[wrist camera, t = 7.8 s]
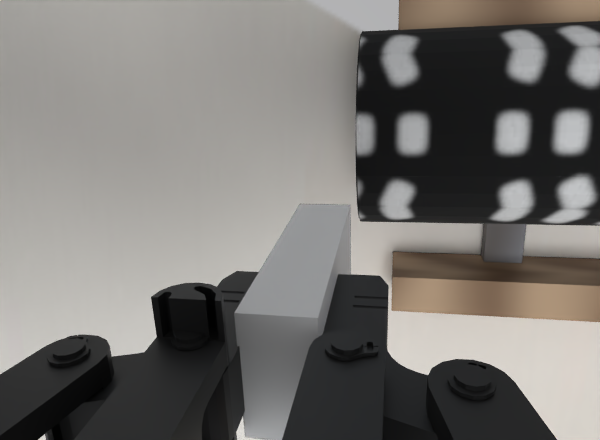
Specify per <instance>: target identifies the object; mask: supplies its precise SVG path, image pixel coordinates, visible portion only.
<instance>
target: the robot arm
mask: <svg viewBox="0 0 600 440" xmlns="http://www.w3.org/2000/svg"><path fill="white" fill-rule="evenodd" d="M151 300H152V307H153V313H154V320H155V327H156V334H157V338H156V339H155V340H154V341H153V343H152V344H151V345H150V346H149V348H148V349H147V350H146V351H145V352H144V353H139V354H130V355H122V356H114V357H112V356H111V351H110V346H109V344H108V342H107V340H105V339H103V338H101V337H99V336H93V335H78V336H77V335H74V336H69V337H67V338H65V339H61V340H58V341H56V342H54V343H52V344H49V345H47V346H45V347H43V348H42V349H40V350H39V351H37V352H35V353H34V354H32V355H31V356H29V357H28V358H26V359H24V360H23V361H21V362H20V363H18V364H16V365H15V366H13V367H12V368H10V369H8V370H7V371H5V372H4V373H2V374H0V440H38V439H39V438H40V437H41V436H43V435H44V434H45V436H46V440H237V436H236V431H237V429H238V426H239V424H240V421H241V419H242V416H243V419H244V430H245V437H247V438H257V439H267V440H557V439H556V438H555V436H554V435H553V434H552V432H551V431H550V430H549V428H548V427H547V425H546V424H545V423H544V421H543V420H542V419H541V417H540V416H539V415H538V413H537V412H536V411H535V409H534V408H533V406H532V405H531V404H530V402H529V401H528V400H527V398H526V397H525V396H524V394H523V393H522V391H521V390H520V389H519V387H518V386H517V385H516V383H515V382H514V381H513V380H512V379H511V378H510V377H509V376H508V375H507V374H506V373H505V372H503V371H501V370H499V369H498V368H496V367H494V366H492V365H490V364H486V363H483V362H479V361H475V360H463V359H455V360H450V361H445V362H442V363H440V364H438V365H437V366H435V367H433V368H432V369H431V371H430V373H429V375H425V374H421V373H418V372H415V371H412V370H410V369H407V368H405V367H404V366H402V365H400V364H398V363H397V362H396V361H395V360H394V359H393V358H392V357H391V356H390V354H389V353H388V351H387V330H388V285H387V284H386V282H385V281H384V280H383V279H382V278H381V277H380V276H372V275H351V217H350V205H336V204H300V205H299V206H298V208H297V210H296V211H295V213H294V215H293V216H292V218H291V220H290V221H289V223H288V225H287V226H286V228H285V230H284V231H283V233H282V235H281V236H280V238H279V240H278V241H277V243H276V244H275V246H274V248H273V249H272V251H271V253H270V254H269V256H268V258H267V259H266V261H265V263H264V264H263V266H262V268H261V269H260V271H259V272H244V271H236V272H235V273H233V274H231V275H230V276H228V277H226V278H225V279H223V280H222V281H221V282H220V284H219V285H218V286H217V287H215V286H213V285H211V284H204V283H184V284H180V285H175V286H171V287H168V288H166V289H163V290H161V291H159V292H158V293H156V294H155V295H153V296H152V297H151Z"/></svg>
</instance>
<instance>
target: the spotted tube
mask: <svg viewBox="0 0 600 440" xmlns="http://www.w3.org/2000/svg"><path fill="white" fill-rule="evenodd" d="M356 187H357V206H358V215H359V219H360V221H368V222H426V223H484V224H542V225H600V21H587V22H565V23H542V24H520V25H497V26H475V27H453V28H430V29H408V30H387V31H363V32H362V33H361V35H360V41H359V50H358V65H357V90H356Z"/></svg>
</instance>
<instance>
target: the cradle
mask: <svg viewBox="0 0 600 440" xmlns="http://www.w3.org/2000/svg"><path fill="white" fill-rule="evenodd" d="M587 21H600V0H399V29H398V30H408V29H430V28H453V27H475V26H497V25H520V24H542V23H565V22H587ZM525 232H526V224H484V227H483V239H482V250H481V255H470V254H441V253H412V252H393V269H392V311H408V312H426V313H444V314H462V315H481V316H499V317H517V318H535V319H553V320H571V321H590V322H600V259H586V258H557V257H528V256H523V249H524V241H525Z"/></svg>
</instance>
